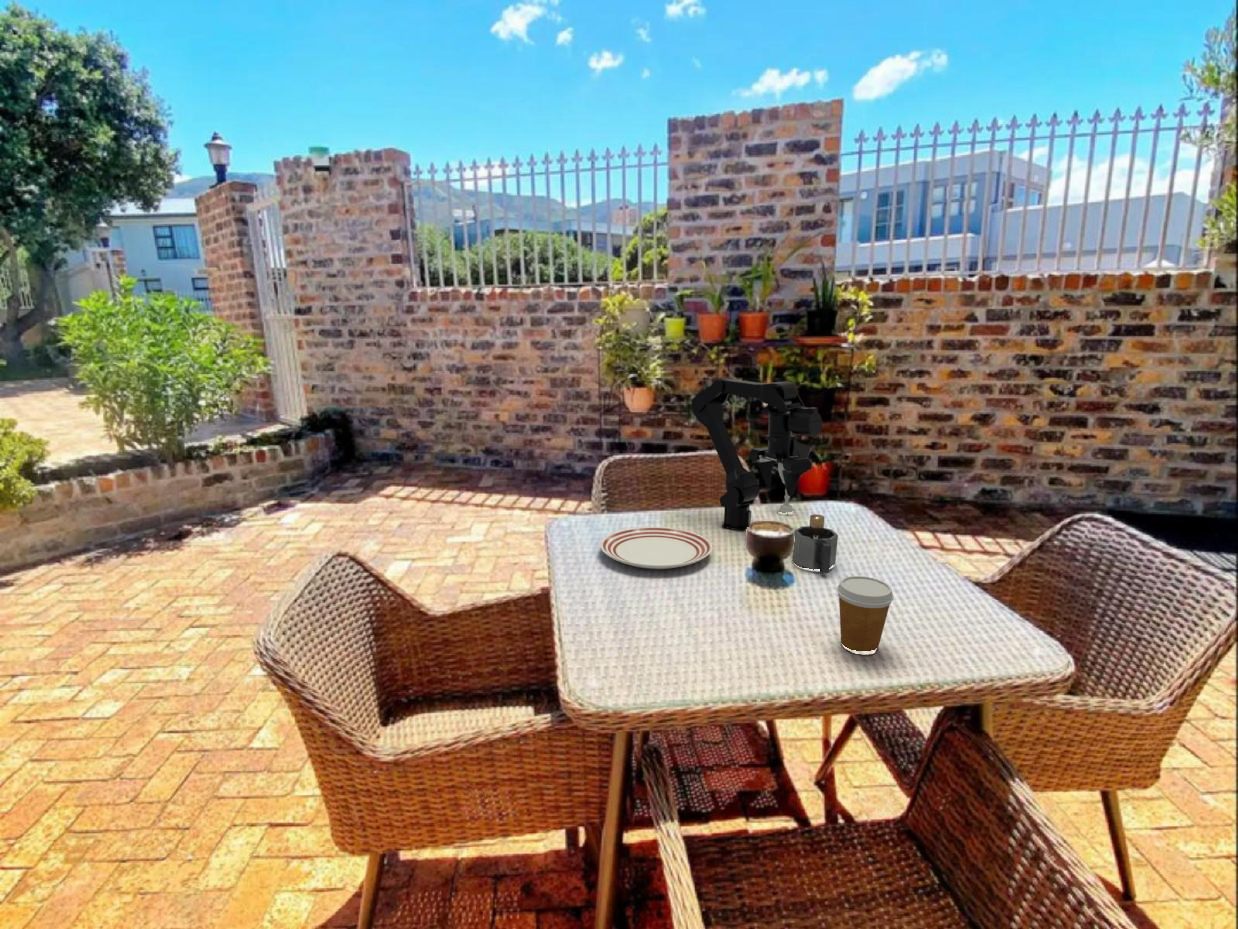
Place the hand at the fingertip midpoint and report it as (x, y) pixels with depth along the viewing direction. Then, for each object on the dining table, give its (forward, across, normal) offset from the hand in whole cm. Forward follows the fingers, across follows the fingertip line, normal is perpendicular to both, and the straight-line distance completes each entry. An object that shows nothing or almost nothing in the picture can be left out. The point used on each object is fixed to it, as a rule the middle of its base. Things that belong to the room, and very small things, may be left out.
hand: (778, 491), depth 167 cm
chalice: (+13, +18, -16) cm, 27 cm away
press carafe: (+14, -18, +2) cm, 23 cm away
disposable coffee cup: (+16, -50, +19) cm, 56 cm away
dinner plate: (+13, +3, +34) cm, 36 cm away
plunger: (+13, -17, +2) cm, 21 cm away
